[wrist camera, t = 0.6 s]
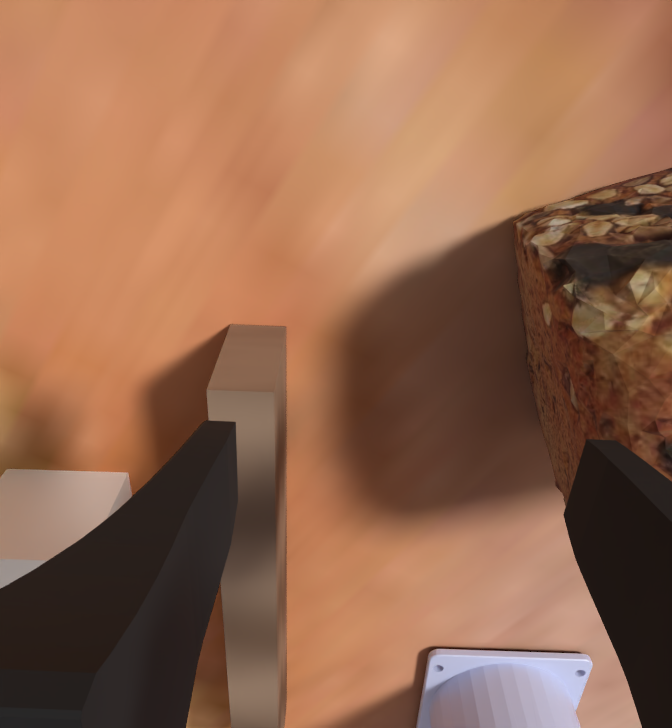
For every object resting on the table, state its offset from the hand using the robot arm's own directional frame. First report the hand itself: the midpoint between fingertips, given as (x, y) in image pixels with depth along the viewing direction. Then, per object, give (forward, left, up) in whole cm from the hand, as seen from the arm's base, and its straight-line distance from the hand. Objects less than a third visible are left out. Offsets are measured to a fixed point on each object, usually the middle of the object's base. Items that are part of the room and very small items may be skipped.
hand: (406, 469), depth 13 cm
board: (-13, +4, -10) cm, 17 cm away
